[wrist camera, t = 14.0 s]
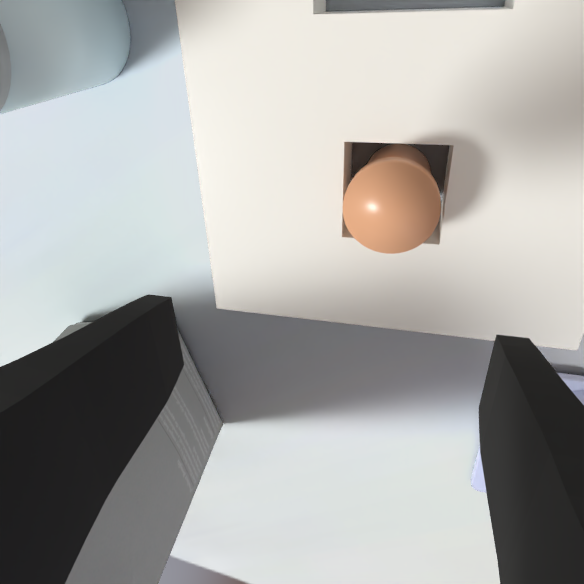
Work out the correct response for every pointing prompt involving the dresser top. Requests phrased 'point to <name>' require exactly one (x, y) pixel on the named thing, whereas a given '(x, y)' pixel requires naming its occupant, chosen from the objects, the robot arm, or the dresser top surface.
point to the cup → (59, 48)
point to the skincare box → (152, 488)
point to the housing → (393, 129)
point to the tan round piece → (393, 201)
